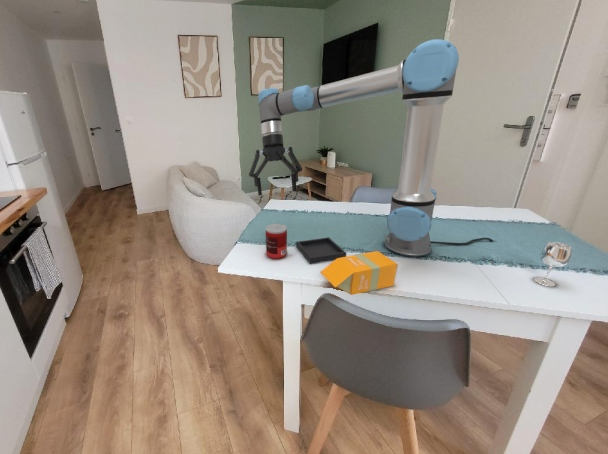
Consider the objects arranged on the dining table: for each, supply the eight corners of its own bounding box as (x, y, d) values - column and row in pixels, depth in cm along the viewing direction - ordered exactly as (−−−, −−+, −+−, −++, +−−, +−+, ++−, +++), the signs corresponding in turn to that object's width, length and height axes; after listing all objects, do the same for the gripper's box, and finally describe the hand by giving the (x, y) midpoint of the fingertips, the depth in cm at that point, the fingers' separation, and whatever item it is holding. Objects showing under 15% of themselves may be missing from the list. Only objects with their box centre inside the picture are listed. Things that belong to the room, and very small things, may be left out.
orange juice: (393, 286, 87) (334, 299, 82) (374, 271, 95) (319, 282, 90) (398, 263, 84) (336, 275, 79) (377, 250, 92) (320, 260, 87)
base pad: (328, 242, 115) (328, 237, 115) (345, 258, 103) (346, 252, 102) (296, 247, 113) (296, 241, 112) (310, 263, 101) (310, 258, 100)
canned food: (286, 249, 111) (286, 223, 107) (287, 260, 104) (287, 232, 100) (266, 249, 112) (266, 223, 108) (265, 259, 105) (265, 232, 101)
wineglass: (525, 277, 88) (539, 241, 83) (543, 276, 88) (558, 240, 83) (545, 288, 82) (561, 251, 78) (564, 286, 83) (580, 249, 78)
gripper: (300, 134, 112) (304, 189, 115) (237, 139, 107) (243, 196, 111) (308, 130, 104) (312, 189, 108) (240, 136, 100) (247, 197, 103)
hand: (277, 193), depth 109 cm, fingers open, 13 cm apart
